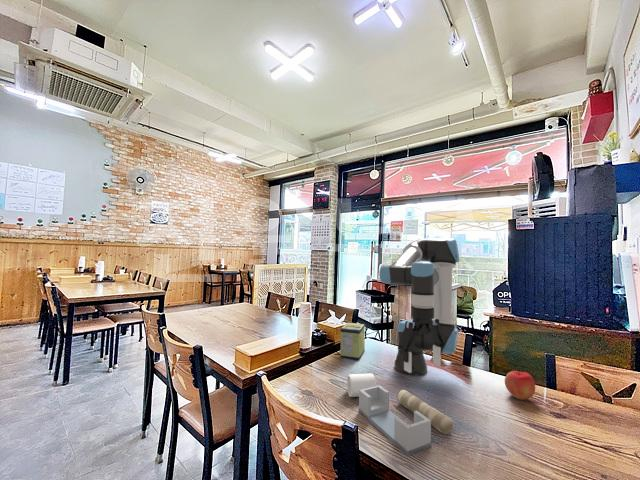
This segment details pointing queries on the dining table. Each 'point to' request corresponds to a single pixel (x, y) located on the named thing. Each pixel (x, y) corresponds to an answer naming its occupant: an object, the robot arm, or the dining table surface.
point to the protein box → (352, 341)
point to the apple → (520, 384)
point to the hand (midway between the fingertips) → (422, 368)
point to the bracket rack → (394, 421)
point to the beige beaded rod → (426, 411)
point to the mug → (359, 383)
